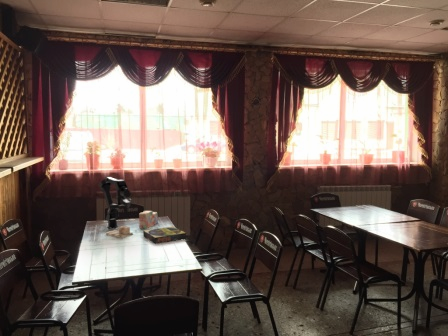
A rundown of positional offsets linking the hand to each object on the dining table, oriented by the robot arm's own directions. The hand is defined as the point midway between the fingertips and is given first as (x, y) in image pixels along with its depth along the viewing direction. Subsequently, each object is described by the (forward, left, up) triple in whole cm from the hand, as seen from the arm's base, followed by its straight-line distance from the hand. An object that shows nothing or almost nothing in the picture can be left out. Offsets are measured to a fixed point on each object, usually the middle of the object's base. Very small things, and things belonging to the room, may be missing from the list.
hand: (121, 215), depth 320 cm
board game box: (+44, -2, -13) cm, 46 cm away
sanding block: (+13, -11, -10) cm, 20 cm away
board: (+8, -11, -12) cm, 18 cm away
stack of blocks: (+8, +24, -12) cm, 28 cm away
